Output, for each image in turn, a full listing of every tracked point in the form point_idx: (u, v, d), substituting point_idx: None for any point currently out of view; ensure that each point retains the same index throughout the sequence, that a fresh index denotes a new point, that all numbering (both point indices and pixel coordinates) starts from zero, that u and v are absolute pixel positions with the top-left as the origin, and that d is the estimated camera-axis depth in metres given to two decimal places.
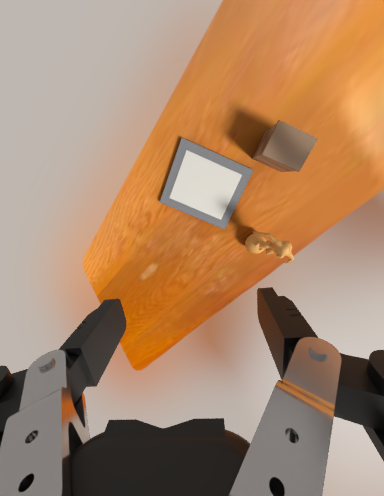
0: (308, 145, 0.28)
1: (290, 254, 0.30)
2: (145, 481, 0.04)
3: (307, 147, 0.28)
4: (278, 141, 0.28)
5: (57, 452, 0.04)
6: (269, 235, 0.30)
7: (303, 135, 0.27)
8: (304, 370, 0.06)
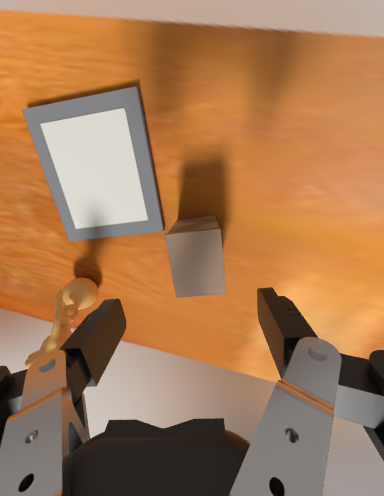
0: (211, 288, 0.18)
1: None
2: (145, 481, 0.04)
3: (209, 288, 0.18)
4: (194, 246, 0.16)
5: (57, 452, 0.04)
6: (56, 323, 0.17)
7: (220, 274, 0.17)
8: (304, 370, 0.06)
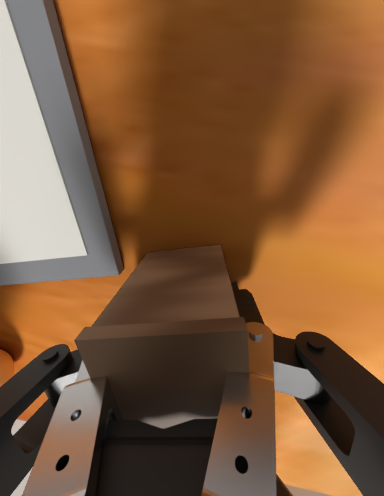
0: None
1: None
2: (145, 481, 0.04)
3: None
4: (165, 371, 0.06)
5: (91, 442, 0.04)
6: None
7: None
8: None
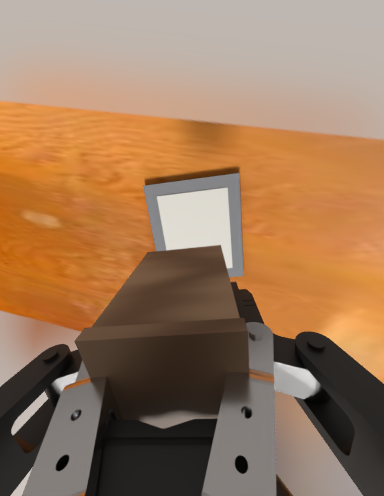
0: None
1: None
2: (145, 481, 0.04)
3: None
4: (165, 371, 0.06)
5: (91, 442, 0.04)
6: None
7: None
8: None
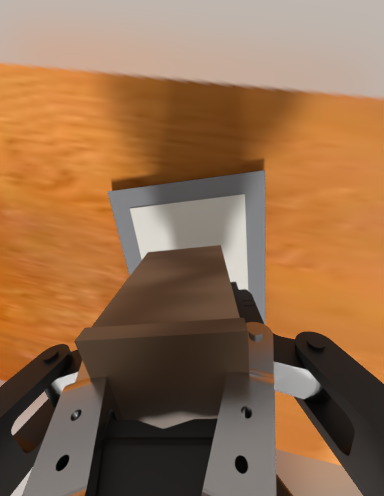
0: None
1: None
2: (145, 481, 0.04)
3: None
4: (165, 371, 0.06)
5: (91, 442, 0.04)
6: None
7: None
8: None
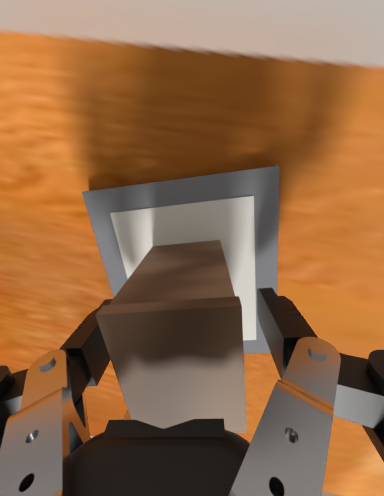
0: None
1: None
2: (145, 481, 0.04)
3: None
4: (172, 342, 0.06)
5: (57, 452, 0.04)
6: None
7: (234, 398, 0.07)
8: (304, 370, 0.06)
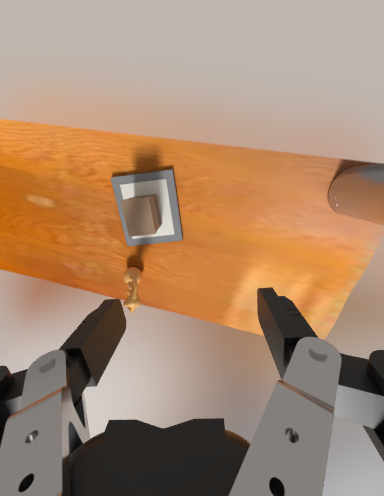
0: (147, 230, 0.33)
1: (132, 308, 0.35)
2: (145, 481, 0.04)
3: (146, 230, 0.33)
4: (136, 206, 0.31)
5: (57, 452, 0.04)
6: (136, 286, 0.34)
7: (151, 222, 0.32)
8: (304, 370, 0.06)
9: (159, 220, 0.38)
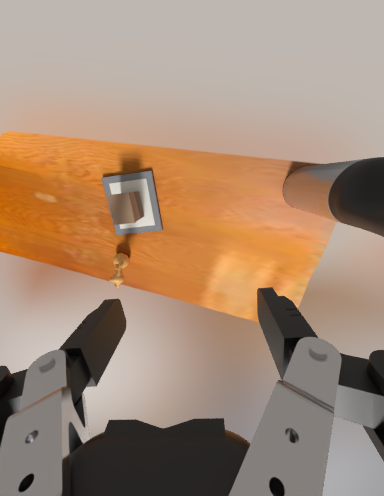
0: (128, 220, 0.41)
1: (117, 284, 0.43)
2: (145, 481, 0.04)
3: (127, 220, 0.41)
4: (118, 200, 0.39)
5: (57, 452, 0.04)
6: (119, 266, 0.42)
7: (131, 213, 0.40)
8: (304, 370, 0.06)
9: (141, 212, 0.45)
